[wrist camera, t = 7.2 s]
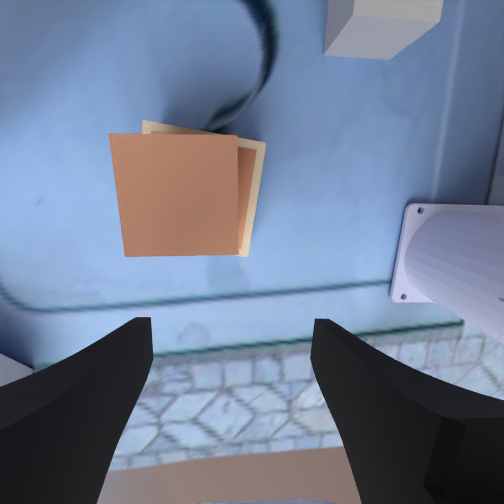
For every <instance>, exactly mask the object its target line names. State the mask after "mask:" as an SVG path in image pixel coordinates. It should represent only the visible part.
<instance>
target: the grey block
mask: <svg viewBox="0 0 504 504" xmlns="http://www.w3.org/2000/svg"><path fill="white" fill-rule="evenodd" d="M443 1H444V0H328V8H327V19H326V31H325V42H324V53H323V55H324V56H339V57H354V58H368V59H383V60H390V59H392V58H393V57H394V56H396V55H397V54H398V53H400V52H401V51H402V50H404V49H405V48H406V47H408V46H409V45H410V44H411V43H413V42H414V41H415V40H417V39H418V38H419V37H421V36H422V35H423V34H425V33H426V32H427V31H429V30H430V29H431V28H433V27H434V26H435V25H437V24H438V23H439V22H440V18H441V12H442V7H443Z"/></svg>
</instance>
